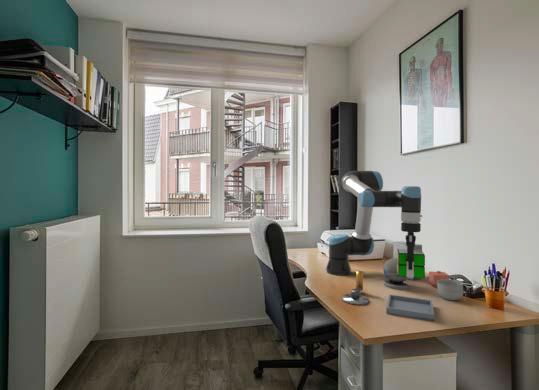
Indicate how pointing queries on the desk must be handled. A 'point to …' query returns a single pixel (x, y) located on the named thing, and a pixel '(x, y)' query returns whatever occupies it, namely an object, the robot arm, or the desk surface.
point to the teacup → (450, 289)
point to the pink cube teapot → (437, 277)
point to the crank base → (355, 300)
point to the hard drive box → (403, 246)
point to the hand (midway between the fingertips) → (410, 273)
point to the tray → (410, 307)
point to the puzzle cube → (418, 263)
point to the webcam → (393, 276)
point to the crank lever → (358, 285)
